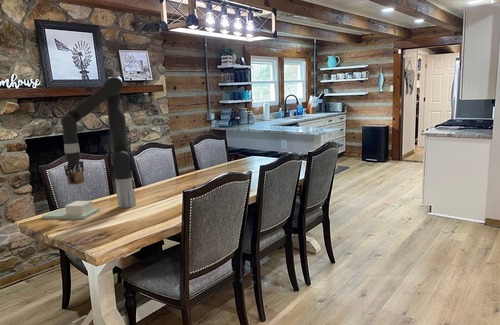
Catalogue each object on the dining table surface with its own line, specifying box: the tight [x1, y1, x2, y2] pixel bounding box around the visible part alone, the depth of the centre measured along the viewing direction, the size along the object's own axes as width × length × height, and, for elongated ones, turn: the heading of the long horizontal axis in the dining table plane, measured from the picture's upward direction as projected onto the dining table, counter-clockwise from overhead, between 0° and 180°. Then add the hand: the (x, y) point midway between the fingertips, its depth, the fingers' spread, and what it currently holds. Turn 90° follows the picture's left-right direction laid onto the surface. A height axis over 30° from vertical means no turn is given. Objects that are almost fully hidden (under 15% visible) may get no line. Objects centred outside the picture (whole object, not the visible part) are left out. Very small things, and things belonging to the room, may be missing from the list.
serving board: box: [41, 208, 100, 220], centre depth 214 cm, size 26×14×2 cm, turn 80°
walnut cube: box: [66, 171, 85, 185], centre depth 211 cm, size 6×6×6 cm
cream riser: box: [64, 200, 94, 215], centre depth 213 cm, size 10×10×5 cm
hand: (76, 181), depth 211 cm, fingers closed on walnut cube, 6 cm apart
